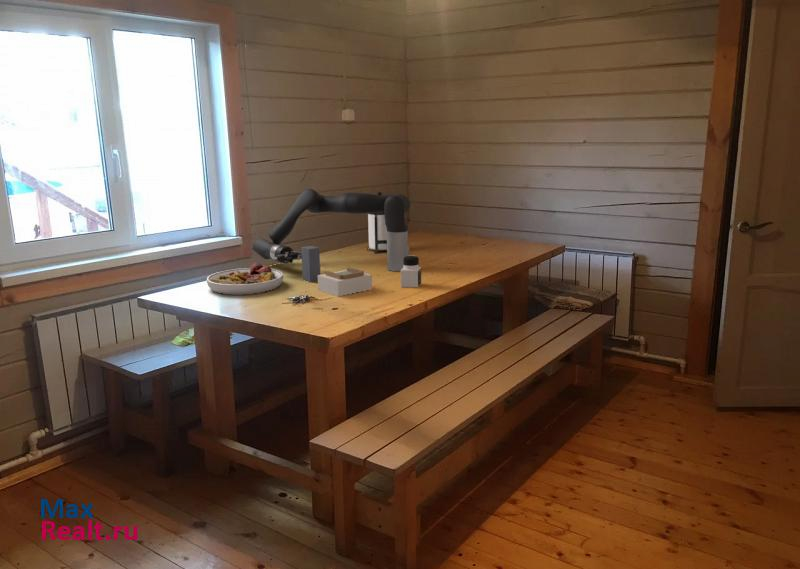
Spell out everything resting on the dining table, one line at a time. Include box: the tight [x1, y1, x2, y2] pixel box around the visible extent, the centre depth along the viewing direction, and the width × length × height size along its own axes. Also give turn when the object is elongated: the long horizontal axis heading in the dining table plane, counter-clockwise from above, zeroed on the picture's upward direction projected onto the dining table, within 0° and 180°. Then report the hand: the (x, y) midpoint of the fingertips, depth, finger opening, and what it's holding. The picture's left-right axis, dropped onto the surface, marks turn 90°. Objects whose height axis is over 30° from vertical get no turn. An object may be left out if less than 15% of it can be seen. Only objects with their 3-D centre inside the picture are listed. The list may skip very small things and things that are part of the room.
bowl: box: [206, 262, 284, 296], centre depth 270 cm, size 30×30×8 cm
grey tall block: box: [300, 245, 321, 283], centre depth 279 cm, size 5×6×14 cm
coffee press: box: [366, 191, 387, 254], centre depth 337 cm, size 17×16×30 cm
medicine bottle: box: [400, 254, 422, 288], centre depth 268 cm, size 7×7×12 cm
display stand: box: [317, 266, 373, 298], centre depth 263 cm, size 16×14×8 cm
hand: (300, 258), depth 285 cm, fingers open, 8 cm apart
